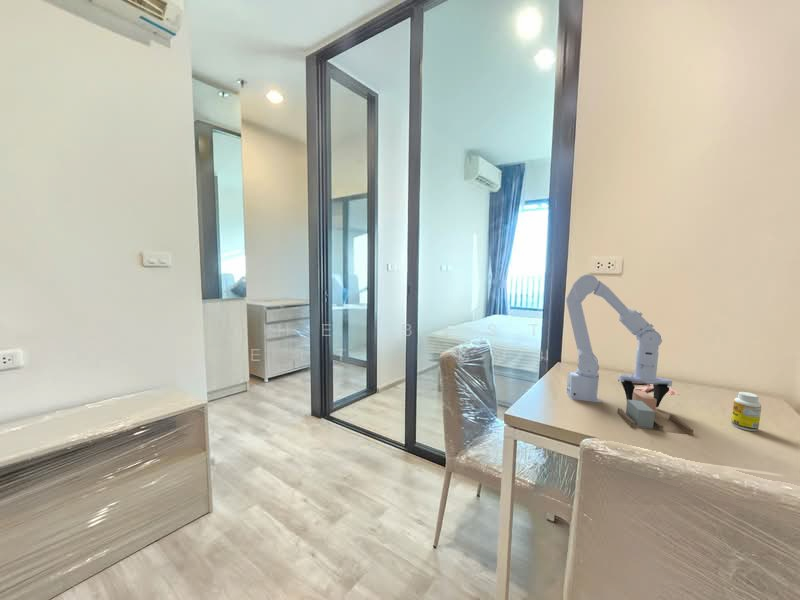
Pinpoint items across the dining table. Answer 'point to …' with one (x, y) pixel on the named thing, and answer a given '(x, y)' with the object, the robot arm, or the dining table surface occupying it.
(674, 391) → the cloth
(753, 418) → the supplement bottle
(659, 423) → the comb rack
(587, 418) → the dining table surface
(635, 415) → the slate block
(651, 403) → the plug block
